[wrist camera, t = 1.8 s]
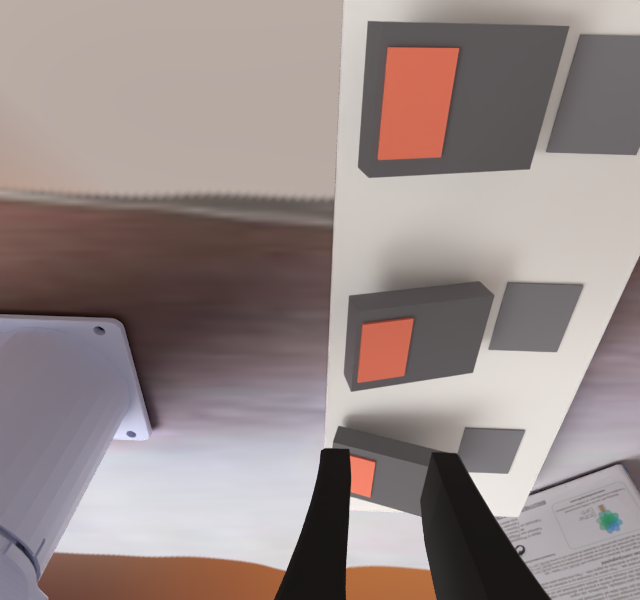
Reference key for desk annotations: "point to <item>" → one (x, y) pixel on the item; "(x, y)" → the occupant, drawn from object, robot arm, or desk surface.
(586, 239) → the power strip
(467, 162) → the block
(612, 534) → the ink cartridge box
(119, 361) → the robot arm
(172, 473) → the desk surface
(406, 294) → the rocker middle
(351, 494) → the rocker far end
